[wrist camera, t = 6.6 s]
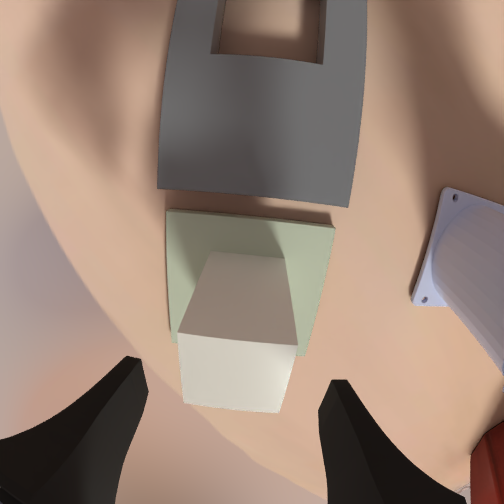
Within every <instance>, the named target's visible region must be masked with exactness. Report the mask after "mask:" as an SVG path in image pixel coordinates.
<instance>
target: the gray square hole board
mask: <svg viewBox="0 0 504 504" xmlns="http://www.w3.org/2000/svg"><path fill="white" fill-rule="evenodd" d="M225 3H226V0H177V5H176V10H175V15H174V20H173V26H172V31H171V37H170V43H169V50H168V56H167V63H166V71H165V79H164V88H163V97H162V108H161V120H160V134H159V152H158V180H157V189H172V190H188V191H203V192H215V193H227V194H239V195H249V196H259V197H268V198H278V199H286V200H295V201H303V202H311V203H318V204H325V205H333V206H340V207H346V208H348V206H349V200H350V195H351V189H352V183H353V177H354V170H355V163H356V157H357V149H358V142H359V134H360V125H361V116H362V106H363V95H364V83H365V67H366V46H367V0H320V15H319V32H318V46H317V59H316V64H315V63H309V62H303V61H297V60H290V59H282V58H273V57H262V56H250V55H230V54H218V52H219V44H220V37H221V30H222V23H223V16H224V10H225Z"/></svg>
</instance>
